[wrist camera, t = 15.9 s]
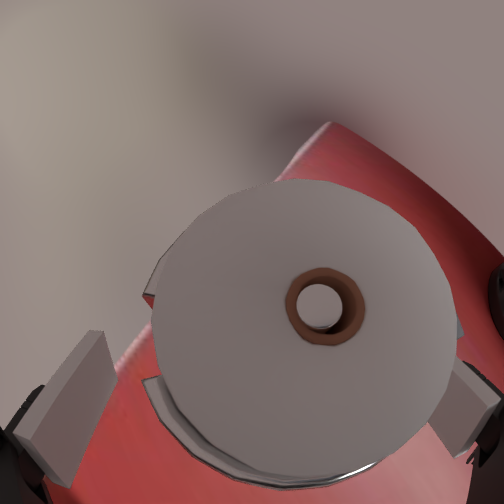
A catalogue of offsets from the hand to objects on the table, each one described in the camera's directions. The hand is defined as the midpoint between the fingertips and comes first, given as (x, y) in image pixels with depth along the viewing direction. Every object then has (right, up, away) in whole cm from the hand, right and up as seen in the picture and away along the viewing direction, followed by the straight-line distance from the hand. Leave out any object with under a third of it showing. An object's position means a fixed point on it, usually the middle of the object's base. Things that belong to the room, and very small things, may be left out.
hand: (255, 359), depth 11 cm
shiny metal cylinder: (0, -9, +15) cm, 17 cm away
